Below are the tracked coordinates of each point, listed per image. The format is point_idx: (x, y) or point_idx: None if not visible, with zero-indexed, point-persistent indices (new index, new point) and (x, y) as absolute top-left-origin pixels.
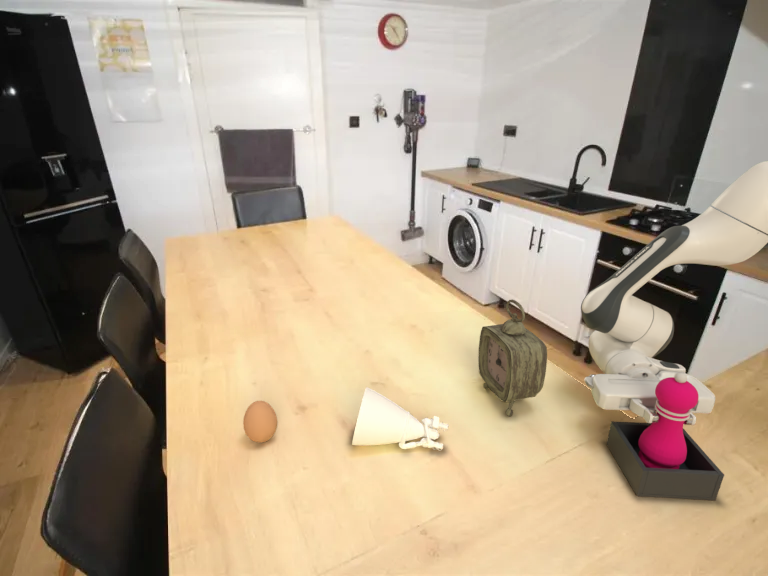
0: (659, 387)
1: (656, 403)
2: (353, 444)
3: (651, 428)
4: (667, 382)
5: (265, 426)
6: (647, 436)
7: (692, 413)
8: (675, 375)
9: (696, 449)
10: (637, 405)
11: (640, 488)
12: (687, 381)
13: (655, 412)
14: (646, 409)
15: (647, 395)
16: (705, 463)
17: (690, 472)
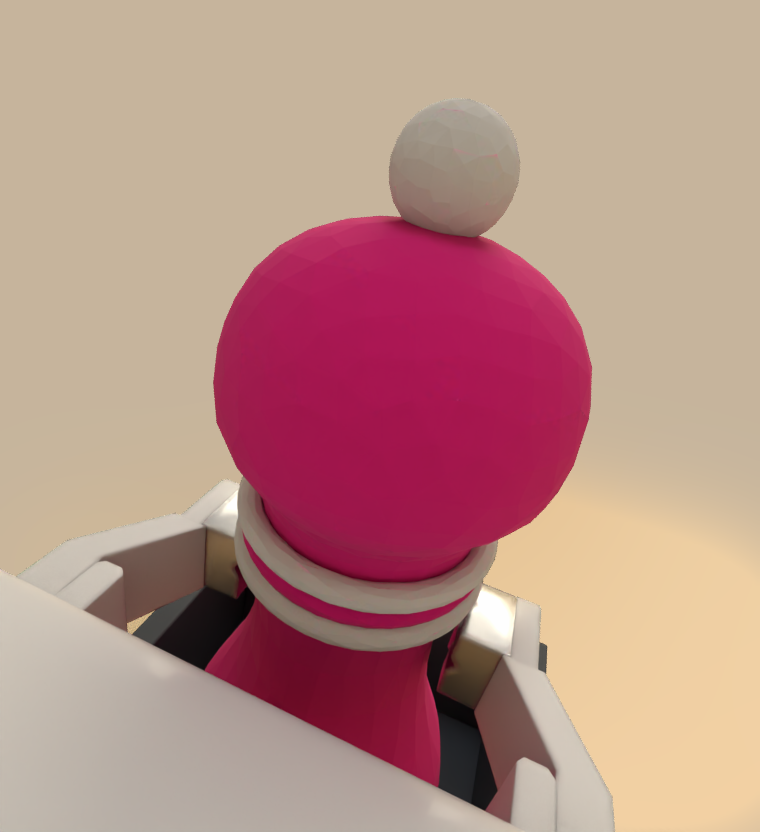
0: (589, 390)
1: (486, 569)
2: None
3: (422, 714)
4: (555, 289)
5: None
6: (434, 744)
7: (206, 496)
8: (515, 165)
9: (158, 643)
10: (584, 753)
11: None
12: (326, 224)
13: (474, 606)
14: (529, 661)
15: (413, 782)
16: (211, 593)
17: None
